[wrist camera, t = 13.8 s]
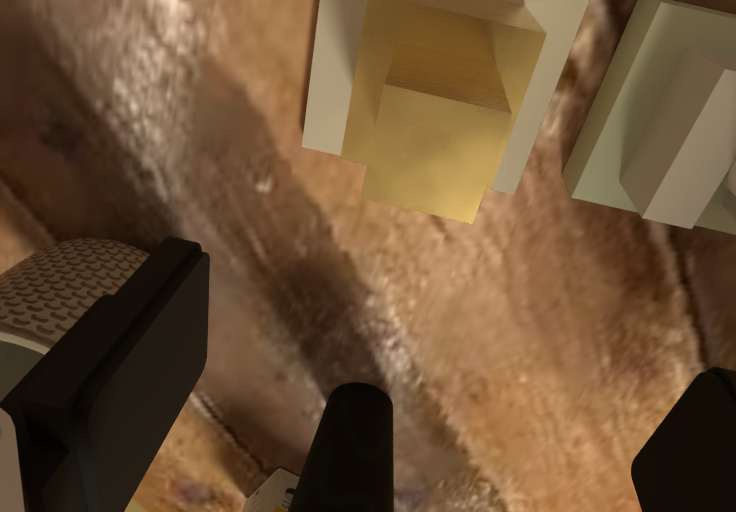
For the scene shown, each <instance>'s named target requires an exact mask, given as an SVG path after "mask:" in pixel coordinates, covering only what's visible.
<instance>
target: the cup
mask: <svg viewBox="0 0 736 512" xmlns="http://www.w3.org/2000/svg"><path fill="white" fill-rule="evenodd" d="M287 512H394V479H393V404H392V402H391V400H390V398H389V397H388V396H387V394H386V393H384V392H383V391H382V390H380V389H379V388H377V387H375V386H372V385H369V384H365V383H348V384H344V385H341V386H339V387H337V388H336V389H335V390H333V391H332V393H331V394H330V396H329V399H328V401H327V404H326V407H325V410H324V412H323V415H322V418H321V421H320V423H319V426H318V429H317V432H316V434H315V437H314V440H313V443H312V445H311V448H310V451H309V454H308V456H307V459H306V462H305V465H304V467H303V470H302V473H301V476H300V478H299V481H298V484H297V487H296V489H295V492H294V495H293V498H292V500H291V503H290V506H289V509H288V511H287Z"/></svg>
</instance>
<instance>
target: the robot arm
mask: <svg viewBox="0 0 736 512" xmlns="http://www.w3.org/2000/svg"><path fill="white" fill-rule="evenodd" d="M209 268H210V257H209V254H208V253H205V252H202V249H201V245H200V244H199V243H197V242H192V241H188V240H184V239H180V238H176V237H171V236H170V237H167V238H166V239H164V240H163V241H162V243H161V244H160V245H159V246H158V247H157V248H156V249H155V250H154V251H153V252H152V253H151V255H150V256H149V257H148V258H147V259H146V260H145V261H144V262H143V263H142V264H141V265H140V267H139V268H138V269H137V270H136V271H135V272H134V273H133V274H132V275H131V276H130V277H129V279H128V280H127V281H126V282H125V283H124V284H123V285H122V286H121V287H120V288H119V289H118V291H117V292H116V293H115V294H114V295H112V294H106V295H103V296H102V297H100V298H99V299H98V300H97V301H96V302H95V303H94V304H93V305H92V306H91V307H90V308H89V309H88V310H87V311H86V312H85V313H84V314H83V315H82V316H81V317H80V318H79V319H78V321H77V322H76V323H75V324H74V325H73V326H72V327H71V328H70V329H69V330H68V331H67V332H66V333H65V334H64V335H63V336H62V337H61V338H60V340H59V341H58V342H57V343H56V344H55V345H54V346H53V347H52V348H51V349H50V350H49V351H48V352H47V353H46V354H45V355H44V356H43V357H42V358H41V360H40V361H39V362H38V363H37V364H36V365H35V366H34V367H33V368H32V369H31V370H30V371H29V372H28V373H27V374H26V375H25V376H24V377H23V378H22V380H21V381H20V382H19V383H18V384H17V385H16V386H15V387H14V388H13V389H12V390H11V391H10V392H9V393H8V394H7V395H6V396H5V397H4V399H3V400H2V401H1V402H0V512H124V511H125V509H126V507H127V505H128V504H129V502H130V500H131V498H132V496H133V495H134V493H135V491H136V489H137V488H138V486H139V484H140V482H141V480H142V479H143V477H144V475H145V473H146V472H147V470H148V468H149V466H150V464H151V463H152V461H153V459H154V457H155V456H156V454H157V452H158V450H159V449H160V447H161V445H162V443H163V441H164V440H165V438H166V436H167V434H168V433H169V431H170V429H171V427H172V425H173V424H174V422H175V420H176V418H177V417H178V415H179V413H180V411H181V409H182V408H183V406H184V404H185V402H186V401H187V399H188V397H189V395H190V393H191V392H192V390H193V388H194V386H195V385H196V383H197V381H198V379H199V377H200V376H201V374H202V372H203V369H204V367H205V363H206V359H207V339H208V304H209ZM631 476H632V481H633V484H634V487H635V490H636V493H637V496H638V500H639V503H640V506H641V509H642V512H736V371H732V370H728V369H724V368H720V367H714V368H711V369H709V370H708V371H707V372H702V373H700V374H698V375H697V376H696V378H695V379H694V380H693V382H692V383H691V384H690V386H689V387H688V388H687V390H686V391H685V392H684V394H683V395H682V396H681V397H680V399H679V400H678V401H677V403H676V404H675V405H674V407H673V408H672V409H671V411H670V412H669V413H668V415H667V416H666V417H665V419H664V420H663V421H662V423H661V424H660V425H659V427H658V428H657V429H656V431H655V432H654V433H653V435H652V436H651V437H650V438H649V440H648V441H647V442H646V444H645V445H644V446H643V448H642V449H641V450H640V452H639V453H638V454H637V456H636V457H635V458H634V460H633V463H632V467H631Z"/></svg>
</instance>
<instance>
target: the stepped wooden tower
mask: <svg viewBox="0 0 736 512" xmlns="http://www.w3.org/2000/svg"><path fill="white" fill-rule="evenodd" d="M546 36H547V33H546V32H545V30H544V29H543V28H542V27H541V25H540V24H539V23H538V21H537V20H536V19H535V18H534V16H533V15H532V14H531V13H530V11H529V10H528V9H527V7H526V6H525V5H521V4H517V3H513V2H509V1H504V0H368V1H367V7H366V13H365V18H364V24H363V30H362V35H361V41H360V47H359V53H358V58H357V64H356V70H355V76H354V81H353V87H352V93H351V98H350V104H349V110H348V116H347V121H346V127H345V133H344V139H343V144H342V150H341V156H340V159H342V160H347V161H351V162H355V163H360V164H364V165H367V168H366V173H365V178H364V182H363V187H362V192H361V197H360V198H363V199H367V200H371V201H376V202H380V203H384V204H389V205H393V206H397V207H402V208H406V209H410V210H415V211H419V212H423V213H428V214H432V215H436V216H441V217H445V218H449V219H454V220H458V221H462V222H467V223H471V224H473V221H474V219H475V216H476V213H477V210H478V207H479V205H480V202H481V199H482V196H483V193H484V192H485V193H490V190H491V188H492V185H493V182H494V179H495V177H496V174H497V171H498V168H499V166H500V163H501V160H502V157H503V154H504V152H505V149H506V146H507V143H508V141H509V138H510V135H511V132H512V130H513V127H514V124H515V121H516V119H517V116H518V113H519V110H520V108H521V105H522V102H523V99H524V97H525V94H526V91H527V88H528V86H529V83H530V80H531V77H532V75H533V72H534V69H535V66H536V64H537V61H538V58H539V55H540V53H541V50H542V47H543V44H544V42H545V39H546Z"/></svg>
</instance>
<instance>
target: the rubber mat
mask: <svg viewBox="0 0 736 512" xmlns="http://www.w3.org/2000/svg"><path fill="white" fill-rule="evenodd" d="M367 1H368V0H320V3H319V11H318V19H317V27H316V35H315V44H314V52H313V60H312V68H311V76H310V84H309V92H308V101H307V109H306V117H305V125H304V133H303V141H302V147H304V148H309V149H313V150H318V151H322V152H326V153H331V154H335V155H340V156H341V150H342V144H343V139H344V133H345V127H346V121H347V116H348V110H349V104H350V98H351V93H352V87H353V81H354V76H355V70H356V64H357V58H358V53H359V47H360V41H361V35H362V30H363V24H364V18H365V13H366V7H367ZM504 1H509V2H513V3H517V4H521V5H525V6H526V7H527V9H528V10H529V11H530V13H531V14H532V15H533V16H534V18H535V19H536V20H537V21H538V23H539V24H540V25H541V27H542V28H543V29H544V30H545V32H546V33H547V36H546V39H545V42H544V44H543V47H542V50H541V53H540V55H539V58H538V61H537V64H536V66H535V69H534V72H533V75H532V77H531V80H530V83H529V86H528V88H527V91H526V94H525V97H524V99H523V102H522V105H521V108H520V110H519V113H518V116H517V119H516V121H515V124H514V127H513V130H512V132H511V135H510V138H509V141H508V143H507V146H506V149H505V152H504V154H503V157H502V160H501V163H500V166H499V168H498V171H497V174H496V177H495V179H494V182H493V185H492V188H491V190H494V191H499V192H503V193H508V194H512V195H514V194H515V191H516V189H517V186H518V184H519V181H520V178H521V176H522V173H523V171H524V168H525V166H526V163H527V160H528V158H529V155H530V153H531V150H532V147H533V145H534V142H535V140H536V137H537V135H538V132H539V129H540V127H541V124H542V122H543V119H544V117H545V114H546V111H547V109H548V106H549V104H550V101H551V98H552V96H553V93H554V91H555V88H556V86H557V83H558V80H559V78H560V75H561V73H562V70H563V68H564V65H565V62H566V60H567V57H568V55H569V52H570V49H571V47H572V44H573V42H574V39H575V37H576V34H577V31H578V29H579V26H580V24H581V21H582V19H583V16H584V13H585V11H586V8H587V6H588V3H589V0H504Z"/></svg>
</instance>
